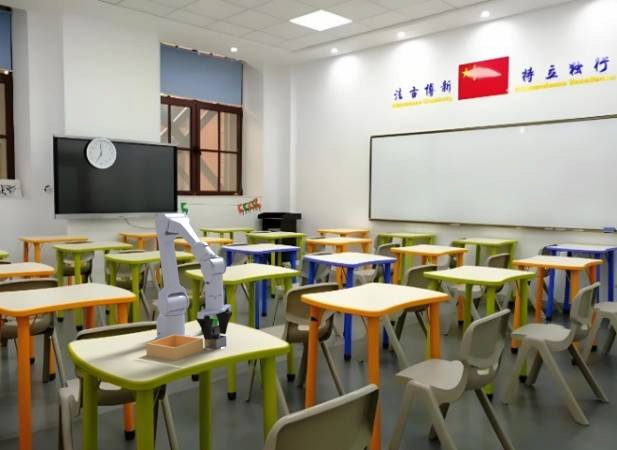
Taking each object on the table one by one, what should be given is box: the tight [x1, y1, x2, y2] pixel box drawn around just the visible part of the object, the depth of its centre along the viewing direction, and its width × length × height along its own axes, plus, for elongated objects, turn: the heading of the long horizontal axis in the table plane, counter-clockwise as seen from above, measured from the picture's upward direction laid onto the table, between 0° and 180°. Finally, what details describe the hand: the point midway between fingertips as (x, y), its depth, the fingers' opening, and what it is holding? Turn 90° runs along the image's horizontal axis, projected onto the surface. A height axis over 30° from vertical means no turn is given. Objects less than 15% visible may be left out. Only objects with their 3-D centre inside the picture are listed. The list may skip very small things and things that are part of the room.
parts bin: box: [145, 334, 204, 361], centre depth 159 cm, size 12×12×4 cm
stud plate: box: [204, 345, 227, 351], centre depth 164 cm, size 7×7×2 cm
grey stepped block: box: [203, 324, 227, 351], centre depth 164 cm, size 5×5×7 cm
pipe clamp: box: [200, 316, 219, 335], centre depth 187 cm, size 11×4×5 cm, turn 173°
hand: (215, 336), depth 164 cm, fingers open, 7 cm apart
